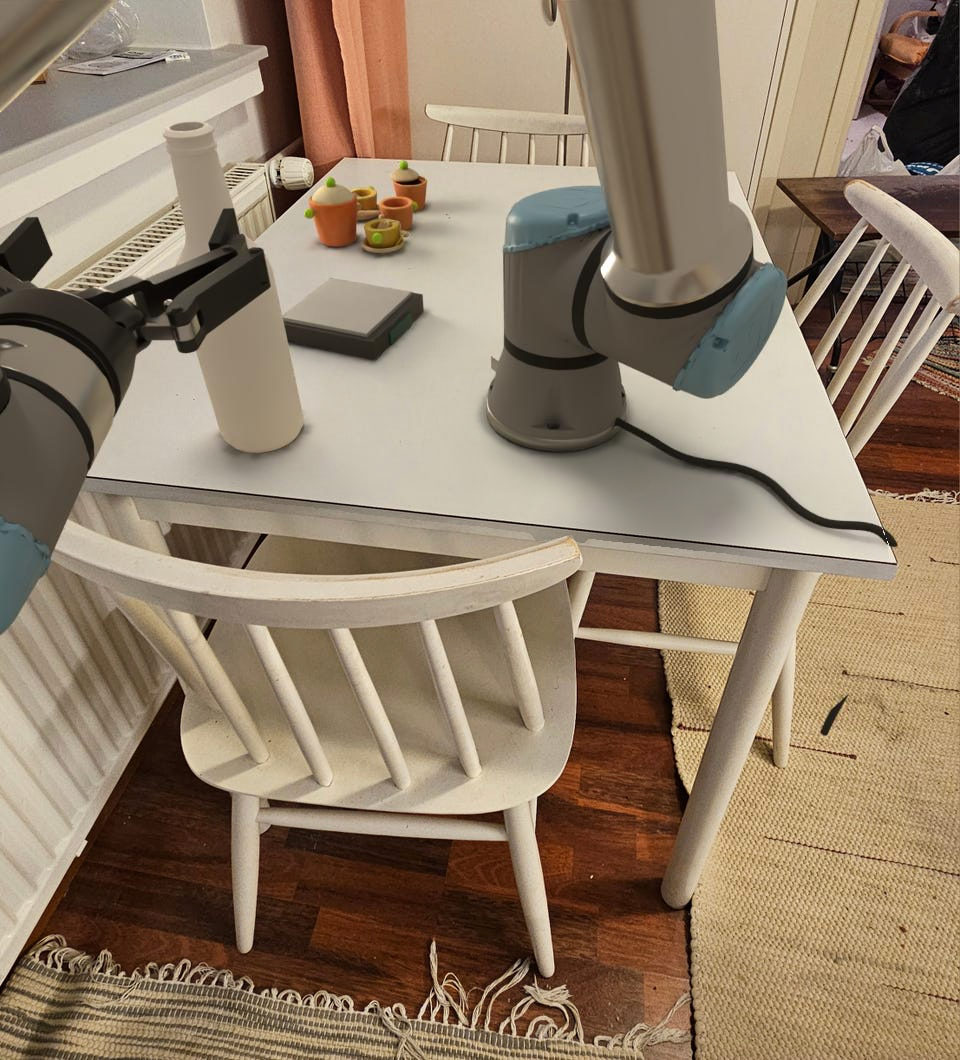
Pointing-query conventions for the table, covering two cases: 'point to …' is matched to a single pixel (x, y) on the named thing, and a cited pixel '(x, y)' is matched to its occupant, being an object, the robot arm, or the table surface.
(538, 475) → the table surface
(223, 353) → the white bottle
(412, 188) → the toy tea set
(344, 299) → the scale
